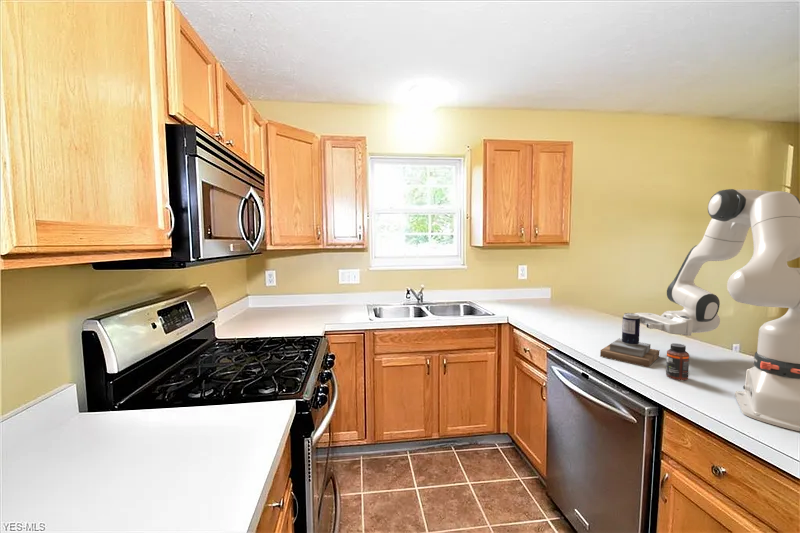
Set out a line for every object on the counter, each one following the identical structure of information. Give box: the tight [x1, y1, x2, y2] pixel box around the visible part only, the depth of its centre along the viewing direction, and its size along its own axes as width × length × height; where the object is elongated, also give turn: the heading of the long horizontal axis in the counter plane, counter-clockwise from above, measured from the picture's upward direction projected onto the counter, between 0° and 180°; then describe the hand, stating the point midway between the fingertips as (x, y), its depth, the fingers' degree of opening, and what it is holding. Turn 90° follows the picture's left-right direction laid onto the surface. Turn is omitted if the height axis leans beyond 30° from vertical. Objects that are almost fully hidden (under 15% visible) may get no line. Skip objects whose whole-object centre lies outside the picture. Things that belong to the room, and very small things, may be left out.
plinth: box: [599, 337, 660, 368], centre depth 138 cm, size 16×16×5 cm
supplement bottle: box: [665, 342, 690, 381], centre depth 117 cm, size 6×6×11 cm
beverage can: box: [621, 312, 641, 346], centre depth 137 cm, size 6×6×12 cm
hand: (639, 322), depth 137 cm, fingers open, 8 cm apart
